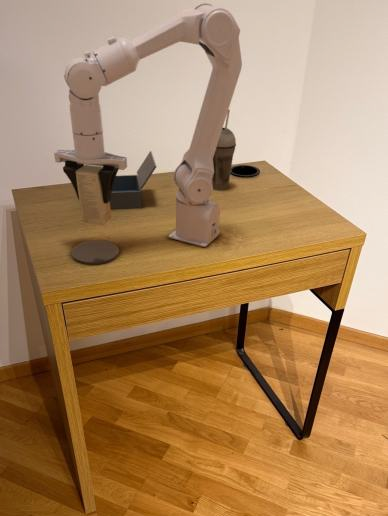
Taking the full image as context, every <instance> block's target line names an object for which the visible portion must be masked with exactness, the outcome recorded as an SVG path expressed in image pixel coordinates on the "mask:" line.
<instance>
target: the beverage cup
mask: <svg viewBox="0 0 388 516" xmlns="http://www.w3.org/2000/svg"><path fill="white" fill-rule="evenodd" d="M230 110H231V109H230V108H229V109H228V112H227V115H226V119H225V123H224V127H223V128H222V131H221V134H220V137H219V141H218V144H217V147H216V150H215V153H214V156H213V166H214V175H213V178H212V185H213V190H220V191H223V190H227V189H228V188H229V183H230V177H231V172H232V164H233V159H234V154H235V151H236V147H237V143H236V142H237V141H236V137H235V134H234V132H233V131H232V130H231V129H230V128H228V123H229V118H230Z"/></svg>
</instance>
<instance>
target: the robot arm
mask: <svg viewBox="0 0 388 516" xmlns="http://www.w3.org/2000/svg"><path fill="white" fill-rule="evenodd" d="M240 34H241V28H240V27H239V25H238V23H237V21H236V19H235V17H234V16H233V14H232V12H231V11H229V10H228V9H226V8H224V7H217V6H214V5H212V4H210V3H207V2H206V3H205V2H203V3H200V4H198V5H196V6H195V7H191V8H187V9H183V10H182V11H181V12H179V13H177V14H175V15H173V16H172V17H170V18H168V19H166V20H165V21H163V22H161V23H159V24H158V25H156V26H154V27H153V28H151V29H149V30H147V31H146V32H144V33H142V34H141V35H139V36H137V37H136V38H134V39H132V40H129V39H127V38H125V37H123V36H119V37H118V38H116V37H115V36H114V35H113V36H110V37H108V38H107V43H106V44H104V45H102V46H100V47H98V48H97V49H95V50H92V51H91V52H90V50H86V51H84V52H83V55H84V57H85V58H83V57H75V58H73V59H70V61H68V62H67V65H66V66H65V70H64V75H63V77H64V81H65V83H66V84H67V87H68V101H69V114H70V115H69V116H70V123H71V129H72V140H73V147H74V149H57V150H56V151H54V152H53V154H54V155H53V156H54V162H55V163H58V164H59V163H64V166H63V167H62V171H63V173H64V174H65V176H66V177H67V178H68V180H69V181H70V184H71V185H72V187H73V189H74V192H75V194H76V197H77V200H78V201H80V200H79V194H78V186H77V179H76V173H75V171H76V170H78V169H79V168H81V167H82V166H84V165H91V166H100V167H103V169H101V170H100V171H99V172H98V173H99V176H100V180H101V184H102V190H103V201H104V203H108V202H109V201H110V200H111V192H112V187H113V183H114V180H115V177H116V176H117V175H118V172H119V170H120V171H125V170H126V169H127V168H128V159H127V156H121V155H117V154H113V153H109V152H106V151H105V140H104V128H103V116H102V115H103V114H102V105H101V104H100V92H101V90H102V87H108V86H109V85H111V84H113V83H115V82H117V81H119V80H121V79H124V77H126V76H128V75H130V74H132V73H134V72H136V71H137V69H138V66H139V64H140V61H141V60H142V59H144V58H148V57H149V56H152V55H153V54H156V53H158V52H160V51H163V50H164V49H167V48H169V47H171V46H173V45H175V44H177V43H180V42H181V43H187V44H192V45H199V46H200V48H202V50H203V51H204V52H205V55H206V56H207V59H208V60H209V63H210V65H211V66H212V70H211V73H210V77H209V79H208V83H207V86H206V90H205V94H204V97H203V101H202V104H201V107H200V111H199V114H198V117H197V120H196V125H195V127H194V131H193V135H192V139H191V142H190V145H189V148H188V149H187V150H186V152H185V153H183V156H182V159H181V161H180V163H179V164H178V165H177V166H176V168H175V170H174V173H173V181H174V184H176V186H177V187H178V189H177V192H176V195H175V202H176V203H175V230H174V231H172V232H171V233H170V234H169V235H168V239H173V240H177V241H179V242H183V243H187V244H191V245H195V246H199V247H203V248H206V247H208V245H209V244H210V243H211V242H212V241H214V240H215V239H216V238H217V237H218V236H219V235H220V231H219V229H220V215H221V209H220V205H219V203H217V202H214V201H213V200H211V196H212V194H213V191H214V188H213V185H212V178H213V175H214V166H213V156H214V153H215V150H216V147H217V144H218V141H219V137H220V134H221V131H222V128H224V126H225V123H226V118H227V112H228V109H229V110H230V106H231V102H232V99H233V97H234V94H235V90H236V87H237V83H238V81H239V77H240V75H241V71H242V66H243V61H242V53H241V52H242V51H241V45H240Z"/></svg>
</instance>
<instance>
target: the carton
mask: <svg viewBox="0 0 388 516" xmlns="http://www.w3.org/2000/svg"><path fill="white" fill-rule="evenodd" d="M142 201H143V200H142V189H141V188H140V184H139V180H138V175H137V174H132V175H131V174H129V175H125V174H124V175H116V177H115V180H114V183H113V187H112V192H111V200H110V208H111V210H125V209H128V210H129V209H142V207H143V206H142Z"/></svg>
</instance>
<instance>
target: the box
mask: <svg viewBox="0 0 388 516" xmlns="http://www.w3.org/2000/svg"><path fill="white" fill-rule="evenodd" d="M101 169H103V166H95V165H86V164H84V166H82V167H81V168H79V169H78V170H76V171H75V173H76V179H77V186H78V194H79V200H78V201H79V206H80V214H81V222H82V224H89V225H96V226H106V224H107V223H109V221H110V220H112V209H111V208H110V201H109V202H108V203H104V201H103V190H102V184H101V180H100V176H99V173H98V172H99V171H100V170H101Z"/></svg>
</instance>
